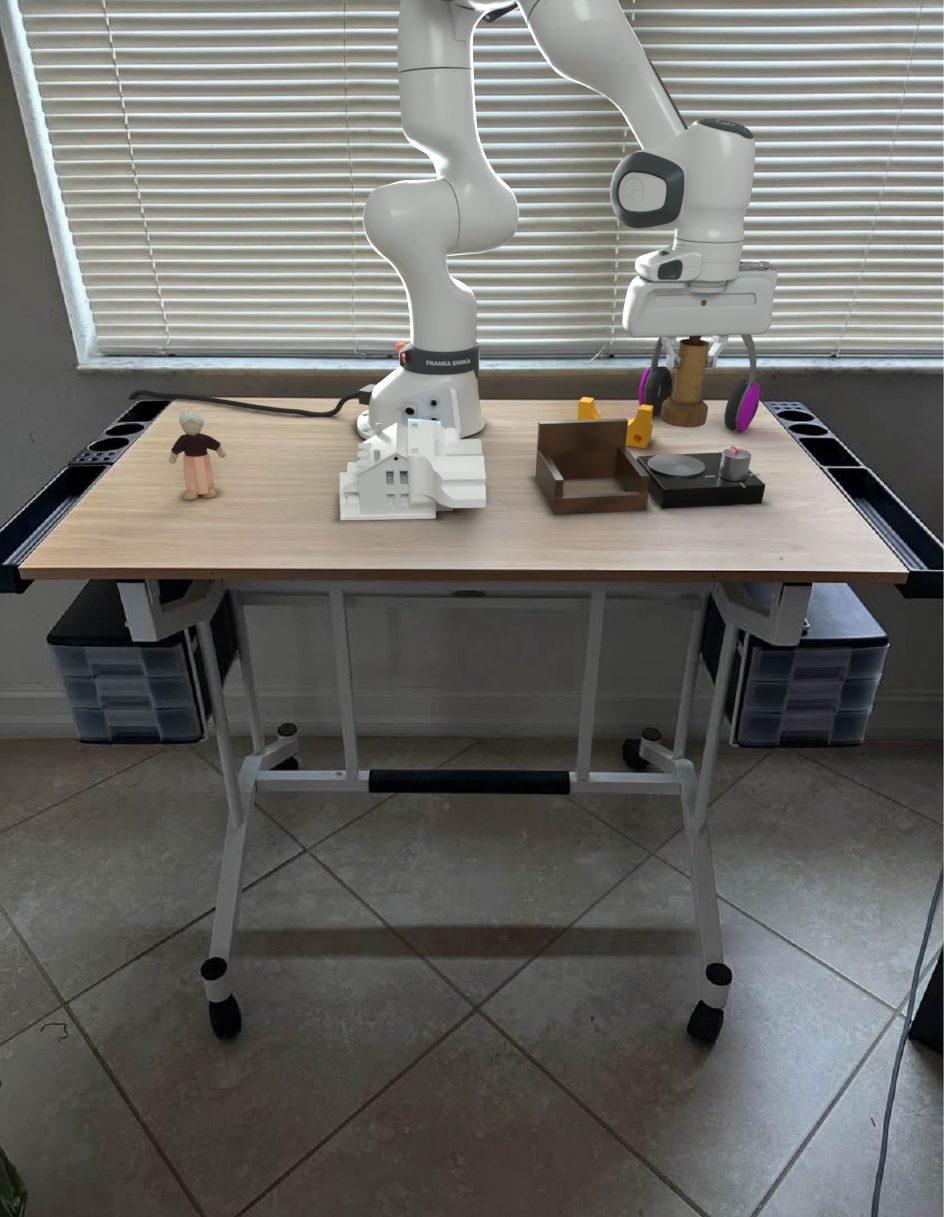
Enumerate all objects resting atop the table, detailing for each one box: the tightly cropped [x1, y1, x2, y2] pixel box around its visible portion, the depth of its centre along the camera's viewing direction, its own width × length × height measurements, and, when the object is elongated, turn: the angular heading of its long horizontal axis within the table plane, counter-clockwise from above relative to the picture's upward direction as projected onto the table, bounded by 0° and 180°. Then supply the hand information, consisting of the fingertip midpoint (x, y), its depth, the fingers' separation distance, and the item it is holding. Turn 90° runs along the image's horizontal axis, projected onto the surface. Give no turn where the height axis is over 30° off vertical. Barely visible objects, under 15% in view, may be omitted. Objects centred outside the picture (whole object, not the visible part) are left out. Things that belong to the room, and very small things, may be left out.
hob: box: [636, 451, 766, 510], centre depth 125 cm, size 16×14×3 cm
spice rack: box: [535, 417, 650, 516], centre depth 122 cm, size 13×13×9 cm
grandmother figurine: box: [168, 409, 227, 501], centre depth 120 cm, size 8×4×13 cm, turn 117°
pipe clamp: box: [577, 396, 654, 449], centre depth 143 cm, size 12×4×6 cm, turn 68°
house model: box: [339, 420, 487, 521], centre depth 118 cm, size 19×20×10 cm
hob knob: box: [719, 445, 752, 481], centre depth 122 cm, size 4×4×4 cm
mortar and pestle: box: [660, 300, 710, 429], centre depth 117 cm, size 7×6×18 cm
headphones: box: [638, 335, 761, 433], centre depth 147 cm, size 21×9×20 cm, turn 58°
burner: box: [648, 453, 705, 478], centre depth 126 cm, size 8×8×1 cm
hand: (690, 367), depth 118 cm, fingers closed on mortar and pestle, 4 cm apart
